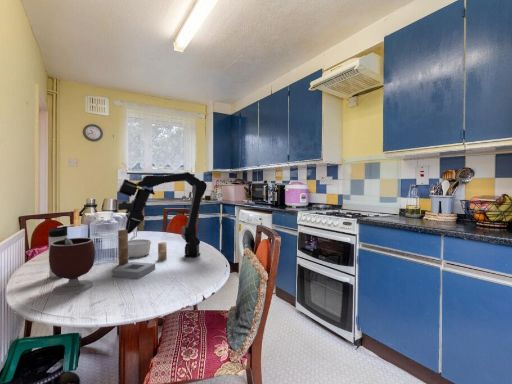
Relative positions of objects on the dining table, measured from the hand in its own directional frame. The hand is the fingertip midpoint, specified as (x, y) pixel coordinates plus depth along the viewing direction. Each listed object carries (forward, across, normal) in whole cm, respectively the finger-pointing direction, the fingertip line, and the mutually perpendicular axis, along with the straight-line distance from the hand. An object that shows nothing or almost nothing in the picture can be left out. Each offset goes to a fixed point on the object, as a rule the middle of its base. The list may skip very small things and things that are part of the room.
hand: (127, 231), depth 129 cm
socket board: (+14, +15, +7) cm, 21 cm away
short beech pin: (+8, -1, +20) cm, 22 cm away
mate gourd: (+22, +23, -13) cm, 34 cm away
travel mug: (+24, +5, -18) cm, 30 cm away
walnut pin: (+15, 0, +4) cm, 15 cm away
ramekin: (+12, -16, +11) cm, 23 cm away
